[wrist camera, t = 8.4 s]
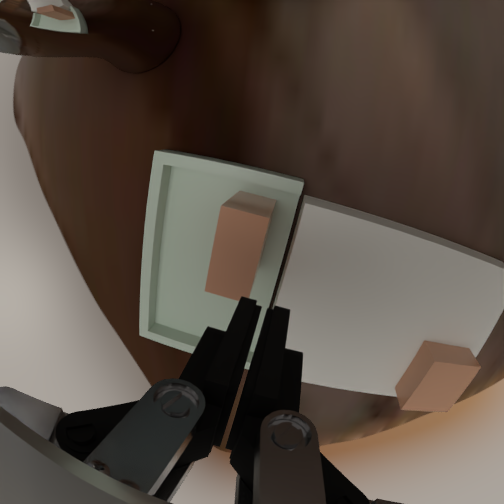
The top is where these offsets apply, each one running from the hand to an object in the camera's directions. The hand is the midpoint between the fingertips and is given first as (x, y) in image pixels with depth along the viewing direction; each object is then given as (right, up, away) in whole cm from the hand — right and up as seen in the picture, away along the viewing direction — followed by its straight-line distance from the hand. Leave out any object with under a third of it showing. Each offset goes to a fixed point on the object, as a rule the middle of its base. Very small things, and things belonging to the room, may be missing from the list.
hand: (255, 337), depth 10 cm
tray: (-3, +2, +12) cm, 13 cm away
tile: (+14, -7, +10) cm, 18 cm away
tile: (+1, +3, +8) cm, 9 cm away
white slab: (+11, -1, +11) cm, 16 cm away
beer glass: (-8, +19, +7) cm, 22 cm away
